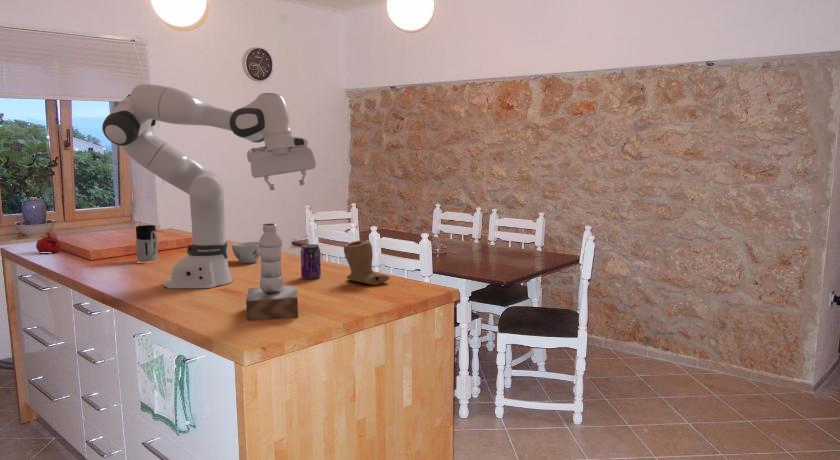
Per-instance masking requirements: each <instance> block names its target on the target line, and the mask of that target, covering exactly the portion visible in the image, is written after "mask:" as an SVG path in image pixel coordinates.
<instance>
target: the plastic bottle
mask: <svg viewBox="0 0 840 460" xmlns="http://www.w3.org/2000/svg"><path fill="white" fill-rule="evenodd" d="M277 231H278V228H277V223H264V224H262V232H263V234H262V235H261V237H260V238H259V240H258V242H259V249H260V261H261V262H260V263H261V265H260V267H261V269H260V277H259V288H260V289H261V290H262V291H263V292H267V293H274V292H279V291H281V289H282V288H283V286H284V279H283V276H282V268H281V260H282V258H281V256H282V246H283V240H282V239H281V237H280V235H279V234H278V233H277Z"/></svg>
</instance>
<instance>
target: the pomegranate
mask: <svg viewBox="0 0 840 460" xmlns="http://www.w3.org/2000/svg"><path fill="white" fill-rule="evenodd" d="M46 234H47V236H46V235H43V236H42V235H41V236H40V237H38V240H37V242H36V245H35V247H36V250H37V251H38V253H40V252H56V251H59V250H60V251H61V249H60V243H61V241H60V240H59V238H58V237H57V236H55V235H53V234H52V235H51V232H47V233H46ZM40 238H41V239H40ZM57 239H58V240H59V241H60V242H59V241H58V240H57ZM60 251H59V252H60ZM56 253H57V252H56Z"/></svg>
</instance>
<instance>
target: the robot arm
mask: <svg viewBox="0 0 840 460" xmlns="http://www.w3.org/2000/svg"><path fill="white" fill-rule="evenodd" d="M285 101H286V100H285V99H284V97H282V96H281V95H280V94H277V93H274V92H271V93H270V92H264V93H260V94H259V95H257V97H256V98H255V99H254V100H252V102H250V103H248V104H247V105H245V106H242V107H240V108H237V109H235V110H234V111H232V110H227V109H224V108H221V107H220V108H218V107H217V106H213V105H211V104H209V103H207V102H205V101H203V100H201V99H199V98H197V97H195V96H194V95H192V94H190V93H188V92H186V91H183V90H180V89H178V88H177V89H176V88H174V87H170V86H165V85H159V84H148V83H141V84H138V85H136V86H134V87H133V89H132V90H131V92H130V94H127V96H126V97H125V98H124V99H122V100H121V101H119V102H118V103H117V105H116V106H115V107H114V109H112V111H110V113H109V114H108V115H107V116H106V117H105V119H104V121H103V123H102V125H101V128H102V129H101V130H102V133H103V135H104V136H105V138H106V139H107V140H108V141H109V142H111V143H113V144H114V145H116V146H121V147H122V149H123V152H125V153H126V154H127V155H128V156H129V157H130V158H131V159H132V160H133V161H134V162H136V163H138V164H139V165H140V166H142V167H143V168H145V169H146V170H147V171H149V172H151V173H152V174H154V175H156V176H157V177H159V179H161V180H163V181H164V182H166V183H168V184H170V185H172V186H173V187H175V188H176V189H179V190H180V191H182V192H184V193H186V194H187V195H189V205H190V217H191V219H190V220H191V233H192V235H191V236H192V237H191V238H192V243H188V244H187V245H186V253H187V255H186V256H185V257H183V258H182V259H181V260H180V261H178V262H177V263H176V264H175V265H173V267H172V270H171V274H170V278H169V279H167V280H165V282H164V288H165V287H167V288H166V289H210V288H215V287H217V286H223V285H226V284H227V285H228V284H230V283H232V282H233V278H232V275H231V272H230V268H229V262H228V261H229V260H228V257H229V249H228V248H229V247H228V242H227V240H226V216H225V215H226V214H225V196H224V194H225V193H224V185H223V181H222V180H221V177H219V176H218V175H217V174H215V173H214V172H212V171H211V170H209V169H207V168H206V167H204V166H203V165H201V164H200V163H198V162H197V161H195V160H194V159H192V158H190V157H189V156H187V155H186V154H184V153H182V151H179V150H178V149H177V148H175V147H174V146H172V145H170V144H169V143H168V142H166V141H165V140H163V139H161V138H159V136H157V135H156V134H155V133H154V132H153V131H152V128H153V127H154V126H156V123H157V121H158V122H161V123H167V124H173V125H181V126H182V125H183V126H206V127H213V128H218V129H222V130H225V131H231V132H232V133H233V134H234V135H235V136H237V137H238V138H241V139H244V140H247V141H250V142H251V143H252V142H253V143H261V142H262V143H263V142H264V146H260V147H252V148H251V149H250V150H248V151H247V153H246V157H247V160H248V162H249V164H250V172H251V176H252V177H253V178H254V179H257V178H263V181H264V182H265V183H266V184H267V185H268V187H269V191H274V190H276V189H275V184H272V183H271V182H270V181H269V179H270V177H271V176H277V175H285V174H290V173H296V172H300V173H301V175H302V177H301V179H299V180H298V184H299V186H301V187H302V186H305V178H306V176H307V171H311V170H314V169H315V168H316V167H317V163H316V159H315V156H314V152H313V150H312V148H311V147H310V146H308V145H309V142H308V139H306V138H303V137H299V136H298V137H297V136H293V132H292V130H291V128H290V117H289V111H288V107H287V104H286V102H285Z"/></svg>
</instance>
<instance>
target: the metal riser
mask: <svg viewBox="0 0 840 460" xmlns="http://www.w3.org/2000/svg"><path fill="white" fill-rule="evenodd" d="M298 299H299V298H298V289H297V285H283V288H282V289H281V291H279V292H274V293H267V292H263V291H262V290H261V289H260V287H248V290H247V294H246V299H245V302H246V303H245V304H246V305H245V306H246V321H262V320H263V321H264V320H276V319H277V320H278V319H292V318H299V304H298V303H299V301H298Z"/></svg>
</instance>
